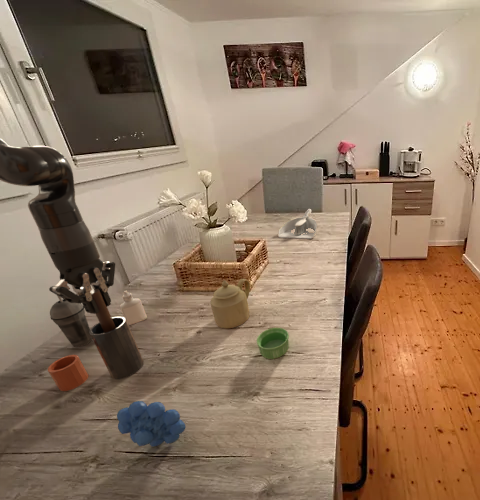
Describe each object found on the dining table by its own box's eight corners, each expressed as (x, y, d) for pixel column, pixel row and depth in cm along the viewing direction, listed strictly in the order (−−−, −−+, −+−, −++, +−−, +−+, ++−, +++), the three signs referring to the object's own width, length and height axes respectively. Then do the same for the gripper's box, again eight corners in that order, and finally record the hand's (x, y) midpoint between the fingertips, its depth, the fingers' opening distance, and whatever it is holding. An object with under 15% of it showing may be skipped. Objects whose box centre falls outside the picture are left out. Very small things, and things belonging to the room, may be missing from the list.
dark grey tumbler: (116, 385, 72) (93, 339, 66) (108, 372, 76) (85, 327, 70) (148, 367, 77) (129, 323, 71) (139, 356, 81) (120, 313, 75)
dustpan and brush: (276, 237, 167) (274, 222, 163) (295, 221, 196) (294, 207, 193) (313, 239, 163) (312, 223, 159) (327, 221, 193) (326, 208, 189)
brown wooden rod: (114, 360, 71) (84, 297, 64) (110, 354, 74) (81, 292, 66) (131, 352, 74) (104, 290, 66) (126, 346, 76) (100, 286, 69)
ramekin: (257, 344, 84) (254, 332, 82) (286, 335, 87) (285, 324, 85) (260, 365, 76) (258, 352, 75) (293, 354, 80) (291, 342, 78)
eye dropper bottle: (145, 322, 95) (133, 292, 90) (125, 327, 93) (112, 296, 88) (148, 315, 99) (137, 286, 94) (129, 319, 97) (116, 290, 92)
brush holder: (62, 396, 69) (49, 375, 66) (58, 385, 72) (45, 364, 69) (91, 381, 73) (80, 361, 70) (86, 371, 76) (75, 351, 73)
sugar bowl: (223, 304, 104) (214, 268, 98) (254, 301, 105) (247, 265, 99) (211, 330, 90) (200, 290, 84) (246, 326, 92) (238, 287, 86)
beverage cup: (97, 332, 91) (71, 278, 83) (100, 342, 86) (72, 287, 78) (67, 343, 86) (36, 287, 78) (68, 355, 82) (35, 297, 74)
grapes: (116, 470, 53) (91, 428, 49) (137, 435, 60) (116, 395, 55) (180, 461, 55) (162, 420, 50) (194, 427, 61) (179, 387, 56)
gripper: (87, 232, 68) (113, 293, 75) (17, 256, 55) (56, 326, 62) (114, 233, 67) (137, 294, 74) (49, 257, 54) (85, 329, 61)
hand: (100, 308), depth 68 cm, fingers closed on brown wooden rod, 2 cm apart
